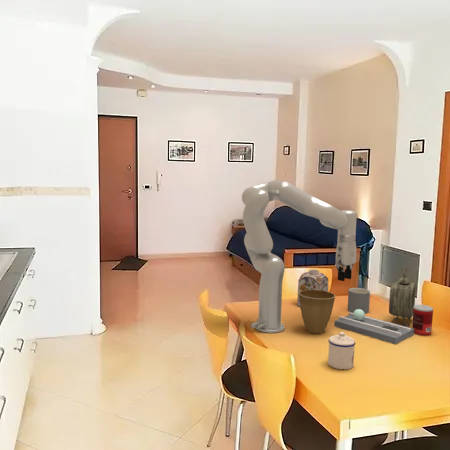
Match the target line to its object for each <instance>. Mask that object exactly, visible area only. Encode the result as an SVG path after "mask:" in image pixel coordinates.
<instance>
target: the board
mask: <svg viewBox="0 0 450 450" xmlns="http://www.w3.org/2000/svg"><path fill="white" fill-rule="evenodd" d="M333 326H334V327H335V326H336V328H339V329H343V330H345V331H349V332H353V333H355V334H359V335H363V336H366V337H369V338H373V339H377V340H380V341H383V342H386V343H389V344H392V345H397V344H399V343H401V342H403V341H404V340H406V339H408V338H410V337H412V336H414V335H415V333H414V329H413V328H412V327H409V326H407V327H405V326H404V325H401V324H398V323H394V322H389V321H386V320H381V319H380V318H379V319H378V318H374V317H370V316H368V315H367V316H366V315H365V318H364V319H363V320H361V321H357V320H355V319H354V317H353V313H351V312H349V313H348V315H346V316H340V315H339V316H338V318H337V319H336V320H334V324H333Z"/></svg>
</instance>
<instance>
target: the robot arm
mask: <svg viewBox="0 0 450 450" xmlns="http://www.w3.org/2000/svg"><path fill="white" fill-rule="evenodd" d="M272 201H278V202H280V203H282V204H284V205H286V206H288V207H290V208H291V209H293V210H295V211H297V212H298V213H300V214H303V215H305V216H308V217H311V218H313V219H317V220H319V222H320V224H321V225H323V226H324V227H326V228H330V229H334V230H337V244H336V251H335V263H334V264H335V265H334V266H335V268H336V269H337V270H336V271H337V281H340V282H345V281H346V279H347V280H352V273H353V272H352V271H353V266H354V265H355V264H356V263H357V242H356V236H357V235H356V233H357V232H356V230H357V217H358V216H357V212H356V211H355V210H351V209H348V210H347V209H343V210H340V209H338V208H336V207H335V206H333V205H331V204H329V203H327V202H325V201H323V200H321V199H319V198H317V197H316V196H313V195H311V194H310V193H307V191H304V190H303V189H301V188H299V187H298V186H296V185H294V184H292V183H290V182H289V181H286V180H278V179H275V180H270V181H267V182H264V183H261V184H257V185H252V186H250V187H247V188H245V189H244V190H243V192H242V194H241V202H242V203H243V205H245V206H244V208H243V213H242V222H243V225H244V229H245V231H246V233H245V235H244V239H243V243H244V246H245V249H246V251H247V254H248V256H249V258H250V261H251V264H252V265H253V267H254V269H255V270H256V271H257V272H258V273H260V274H261V275H260V276H261V277H260V280H259V289H258V318H256V321H255V322H252V323H251V324H250V326H251V329H255V330H257V331H259V332H261V333H262V332H263V333H268V334H269V333H270V334H273V333H280V332H283V331H284V330H285V324H284V323H282V301H283V298H282V297H283V280H284V279H283V278H284V275H285V263H284V261H283V260H282V258H280V256H278V255H276V254H274V253H272V250H273V249H274V248H273V247H274V242H273V239H272V236H271V234H270V231H269V229H268V226H267V224H266V221H265V217H264V214H265V212H266V209H267V207H268V205H269V203H270V202H272Z"/></svg>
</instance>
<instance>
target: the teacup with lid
mask: <svg viewBox="0 0 450 450" xmlns="http://www.w3.org/2000/svg"><path fill="white" fill-rule="evenodd" d="M327 342H328V356H327V358H328V360H327V362H328V365H329V366H330V367H332V368H333V369H336V370H342V369H344V371H345V369H346V370H349V369H350V370H351V369H352V368H353V367H354V366H355V365H354V362H355V361H354V359H355V345H356V340H355V339H354V338H352V337H351V336H349V335H346V333H345V332H343V331H340V332H339V334H336V335H334V334H333V335H332V336H330V337H329V338H328V341H327Z"/></svg>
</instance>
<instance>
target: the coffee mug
mask: <svg viewBox="0 0 450 450" xmlns="http://www.w3.org/2000/svg"><path fill="white" fill-rule="evenodd" d="M370 299H371V291H370V290H369V289H368V288H367V289H366V288H361V287H352V288H348V292H347V312H349V313H353V312H354V311H355V310H357V309H361V310H363V311H364V313H365V315H366V313H367V314H369V313H370Z"/></svg>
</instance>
